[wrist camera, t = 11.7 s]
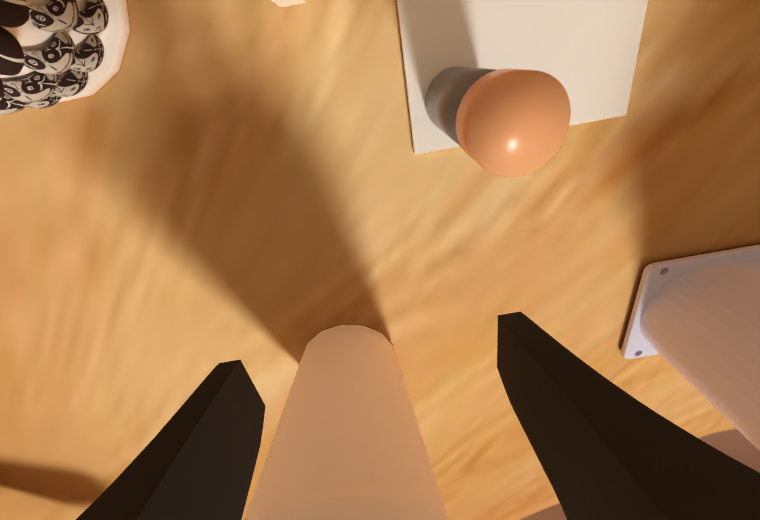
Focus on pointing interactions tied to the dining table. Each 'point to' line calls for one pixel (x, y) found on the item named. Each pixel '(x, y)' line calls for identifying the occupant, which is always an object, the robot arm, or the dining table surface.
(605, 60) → the paper
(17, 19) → the decorative candle
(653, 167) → the dining table surface
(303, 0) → the rectangular block
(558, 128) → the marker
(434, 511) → the foam cup
